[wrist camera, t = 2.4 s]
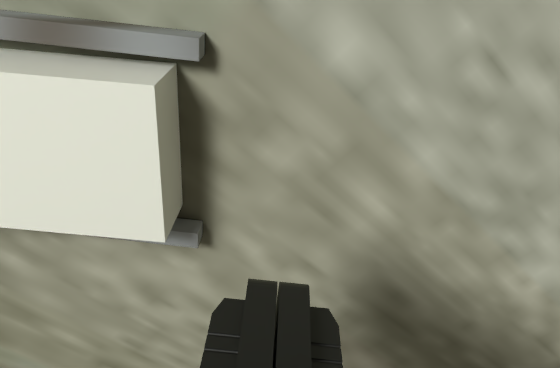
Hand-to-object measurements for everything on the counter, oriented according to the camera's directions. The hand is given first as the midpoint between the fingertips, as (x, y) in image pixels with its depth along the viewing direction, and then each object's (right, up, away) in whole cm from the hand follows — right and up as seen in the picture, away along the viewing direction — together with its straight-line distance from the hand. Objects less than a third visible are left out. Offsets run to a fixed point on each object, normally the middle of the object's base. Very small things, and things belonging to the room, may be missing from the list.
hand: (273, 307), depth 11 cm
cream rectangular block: (-10, +6, +8) cm, 14 cm away
